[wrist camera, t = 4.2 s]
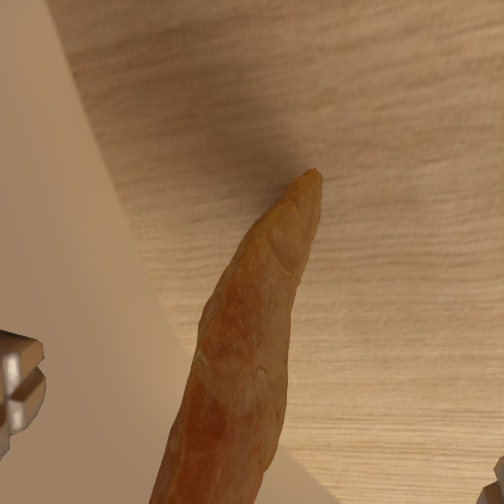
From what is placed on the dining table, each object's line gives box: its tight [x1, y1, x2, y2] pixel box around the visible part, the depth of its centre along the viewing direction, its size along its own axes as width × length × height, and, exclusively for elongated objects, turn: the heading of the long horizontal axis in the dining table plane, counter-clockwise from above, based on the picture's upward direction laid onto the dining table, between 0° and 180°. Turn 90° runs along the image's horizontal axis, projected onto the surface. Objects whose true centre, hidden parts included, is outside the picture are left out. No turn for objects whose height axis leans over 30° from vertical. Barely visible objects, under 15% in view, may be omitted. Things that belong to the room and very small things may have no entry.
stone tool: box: [149, 168, 322, 504], centre depth 11 cm, size 5×2×15 cm, turn 2°
